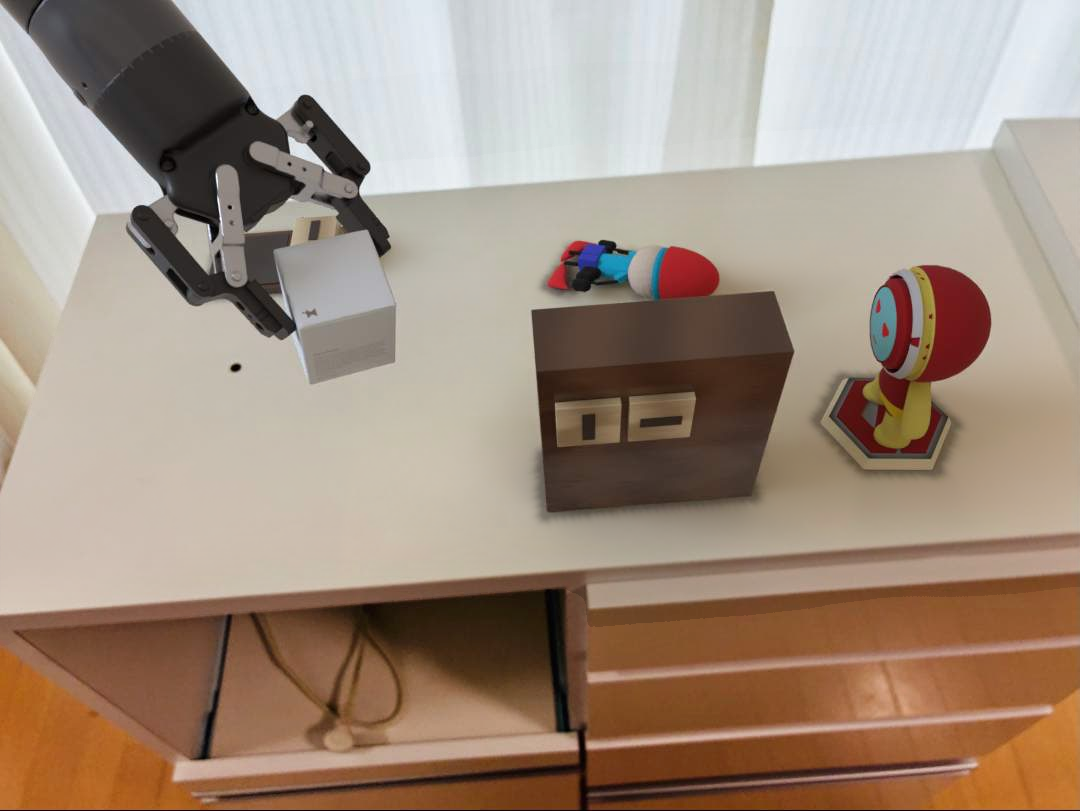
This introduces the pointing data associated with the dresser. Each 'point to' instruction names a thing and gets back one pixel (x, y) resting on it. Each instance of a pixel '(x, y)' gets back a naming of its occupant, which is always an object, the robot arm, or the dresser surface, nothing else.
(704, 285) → the toy figure
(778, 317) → the dark wooden block
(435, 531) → the dresser surface
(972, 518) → the dresser surface
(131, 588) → the dresser surface
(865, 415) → the figurine
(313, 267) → the product box
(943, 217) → the dresser surface
